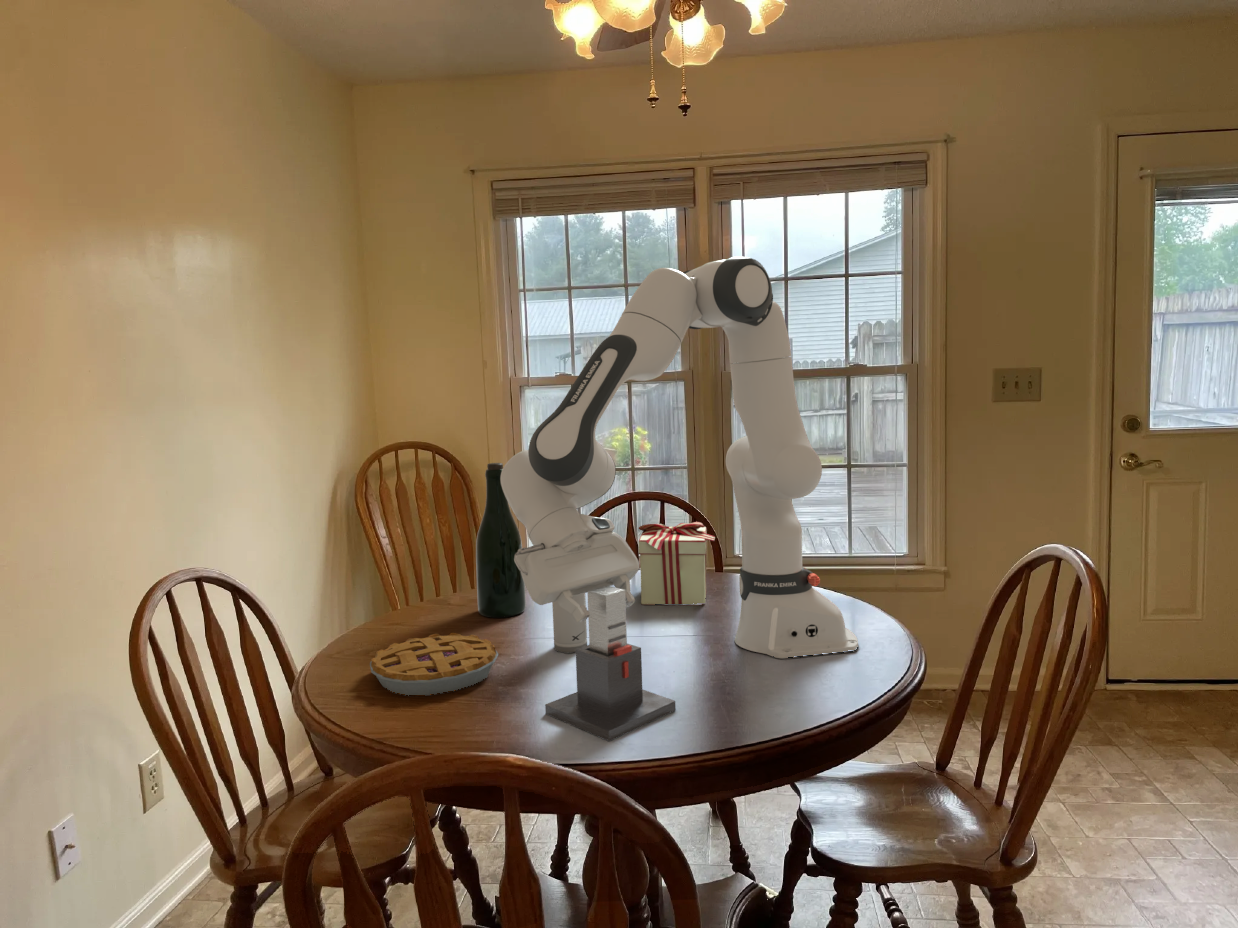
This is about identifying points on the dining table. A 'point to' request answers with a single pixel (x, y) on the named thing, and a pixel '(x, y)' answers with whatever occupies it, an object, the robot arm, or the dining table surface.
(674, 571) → the gift box
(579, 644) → the travel mug
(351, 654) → the dining table surface
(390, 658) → the pie
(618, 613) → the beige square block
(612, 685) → the grey square socket stand
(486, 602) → the green wine bottle
